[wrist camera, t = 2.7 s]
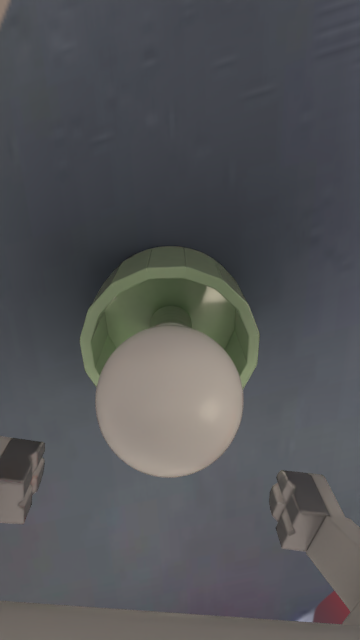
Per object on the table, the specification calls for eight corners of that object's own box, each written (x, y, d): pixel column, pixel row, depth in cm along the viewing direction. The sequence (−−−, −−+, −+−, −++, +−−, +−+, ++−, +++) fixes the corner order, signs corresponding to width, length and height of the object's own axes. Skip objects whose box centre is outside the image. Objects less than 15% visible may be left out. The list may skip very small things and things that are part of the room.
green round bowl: (122, 222, 19) (108, 237, 15) (268, 277, 21) (291, 305, 17) (82, 354, 23) (63, 395, 19) (208, 392, 25) (216, 437, 20)
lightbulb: (120, 357, 23) (78, 508, 13) (124, 268, 20) (76, 372, 10) (210, 365, 23) (239, 518, 13) (227, 279, 20) (279, 390, 10)
